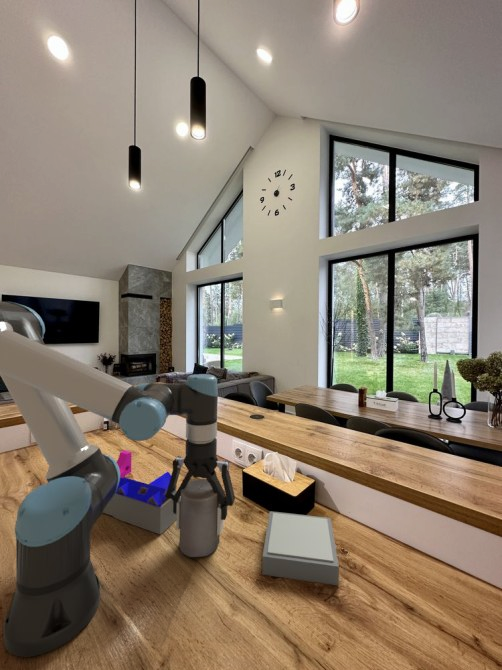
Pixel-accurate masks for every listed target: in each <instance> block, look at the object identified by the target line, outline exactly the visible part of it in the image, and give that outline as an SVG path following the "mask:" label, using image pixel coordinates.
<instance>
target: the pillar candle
mask: <svg viewBox="0 0 502 670" xmlns="http://www.w3.org/2000/svg"><path fill="white" fill-rule="evenodd" d="M180 498H181V499H180V529H179V549H180V551H181V553H182V554H184V556H186V557H188V558H199V557H200V558H203V557H207V556H209V555H211V554H212V553H214V552H215V551H216V550H217V548H218V546H219V544H220V535H217V513H218V506H219V504H220V503H219V501H218V499H217V493H214V491H213V489H212V487H211V485H210V483H209V482H208V481H207V479H206V478H195V479H192V480H190V481H189V482H188V484H187V485H186V487H185V488H184V489H181V496H180Z"/></svg>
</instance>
